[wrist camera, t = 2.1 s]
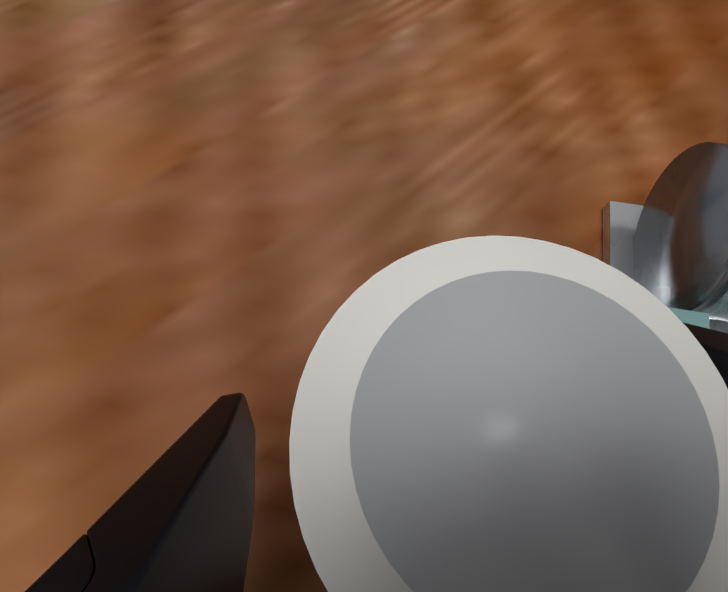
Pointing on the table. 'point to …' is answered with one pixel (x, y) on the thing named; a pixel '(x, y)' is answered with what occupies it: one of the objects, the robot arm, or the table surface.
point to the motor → (678, 237)
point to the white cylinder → (510, 431)
